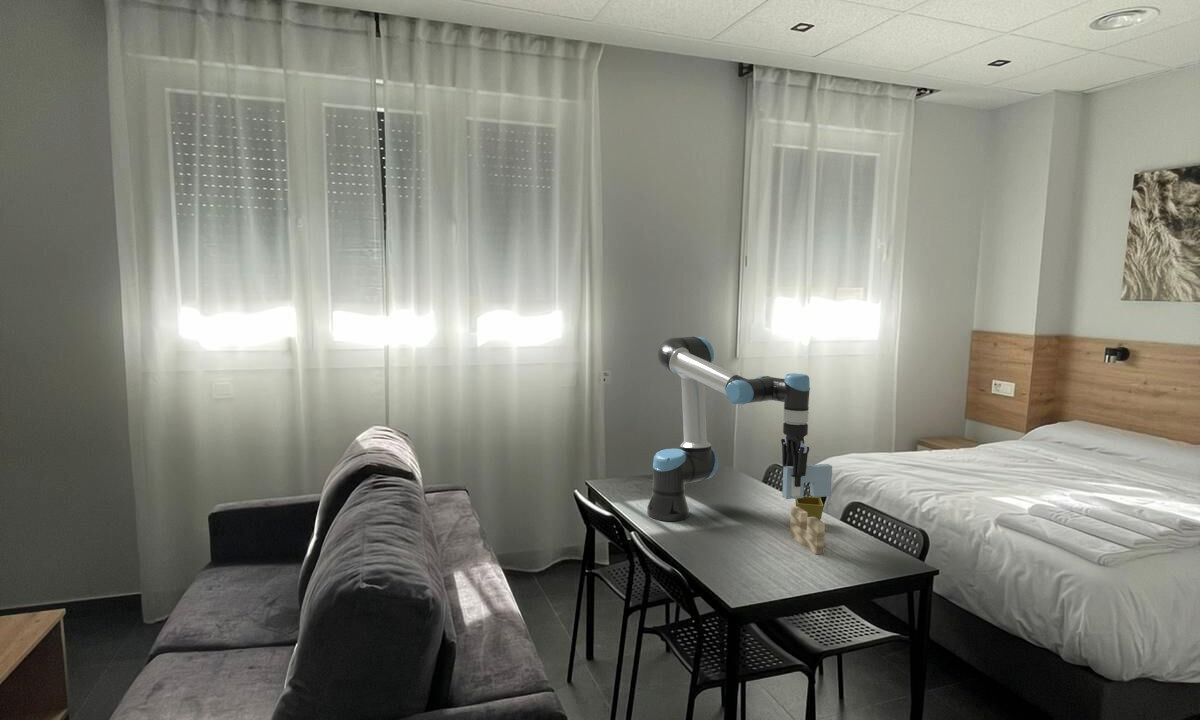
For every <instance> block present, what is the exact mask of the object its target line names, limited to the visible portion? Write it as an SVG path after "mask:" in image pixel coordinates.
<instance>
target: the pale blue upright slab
mask: <svg viewBox="0 0 1200 720" xmlns="http://www.w3.org/2000/svg"><path fill="white" fill-rule="evenodd" d="M782 469H783V471H782V493H781V494H782V495H781V496H782V498H783V499H785V500H792V499H796V498H803V496H804V490H805V488H804V487H805V484H808V483H810V487H809V495H810V497H818V498H821V497H823V498H824V497H825V498H826V497H831V496H832V483H833V482H832V480H833V479H832V477H833V465H831V464H828V463H823V464H822V463H821V464H820V463H819V464H807V466H806V475H805V476H802V477H801V486H800V496H794V497H792V496H791V486H792V476H791V475H794V473H793V466H783V465H782Z"/></svg>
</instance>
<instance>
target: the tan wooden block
mask: <svg viewBox="0 0 1200 720" xmlns="http://www.w3.org/2000/svg"><path fill="white" fill-rule="evenodd" d="M789 525H790V526H789V537H790V538H792V539H793V540H795V541H796V542H798V543H799V544H801V545H802V546H803V547H804V548H807V550H809V551H810V552H812V553H814V554H815V555H824V548H825V545H824V544H825V531H826V522H824V521H822V519H821V520H819V519H817V518H816V517H808V513H807V512H806V511H804V510H803V509H801V508H799V507H796V506H791V507H790V524H789Z"/></svg>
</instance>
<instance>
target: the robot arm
mask: <svg viewBox="0 0 1200 720" xmlns="http://www.w3.org/2000/svg"><path fill="white" fill-rule="evenodd" d="M714 352H715V351H714V349H713V346H712V345H711V342H710V341H708V339H706V338H705V337H703V336H702V337H701V336H685V337H683V336H681V337H670V338H667V339H665V340H664V341H663V342H661V344H660V345H659V347H658V351H657V359H658V362H659V363H660V365H661V366H662V367H663V368H664V369H666V370H667V371H670V372H671V373H674V374H677V375H678V376H679V377H680V378H681V379H680V380H681V382H680V383H681V384H680V385H681V402H682V403H681V405H682V406H681V407H682V422H683V423H682V424H683V425H682V427H683V441H682V443H681V444H680V445H679V448H665V449H661V450H659V451H657V452H656V453H655V454H654V455H653V463H652V493H651V496H650V498H649V501H648V505H647V511H646V513H647V515H648V517H650V518H651V519H654V520H659V521H662V522H663V521H664V522H677V521H679V522H680V521H683V520H686V519H687V518H689V516H690V515H689V513H690V510H689V509H690V508H689V506H688V505H689V504H688V503H687V498H686V495H685V490H686V488H685V487H686V486H685V485H687V484H690V483H695V482H699V481H701V482H703V481H705V480H707V479H711V478H712V477H714V475H716V473H717V471H718V468H719V458H718V457H719V456H718V455H717V454H716V451H715V450H714V449H713V448H712V444H711V443H710V442H709V441H708V435H707V433H708V432H707V414H706V413H707V412H706V411H707V410H706V409H707V408H706V387H705V386H707V387H709V388H711V389H713V390H715V391H717V392H719V393H721V394H723V395H725V396H726V398H727V400H728V401H729V402H730V403H731V404H735V405H746V404H752V403H760V402H769V401H776V402H780V403H783V421H784V422H783V424H782V433H783V434H784V435H785V438H781V439H780V442H781V452H782V458H781V459H782V467H783V466H793V473H794V475H791V476H792V486H791V496H792V497H794V496H800V486H801V477H802V476H805V475H806V466H807V465H808V457H809V456H808V455H809V452H810V446H806V445H805V437H806V436H808V434H809V433H808V432H809V431H808V430H809V424H808V422H809V407H810V406H809V401H810V390H811V386H810V376H809V375H808V374H805V373H796V372H795V373H794V372H793V373H786V374H785V375H784V377H785V378H779V377H773V376H769V375H764V376H763V375H760V376H756V378H749V379H748V378H745V377H743V376H741V375H739V374H736V373H734V372H732V371H730V370H728V369H725V368H723V367H721V366H719V365H717V364H715V363H713V361H714V357H715V355H714V354H715V353H714Z"/></svg>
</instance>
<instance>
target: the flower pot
mask: <svg viewBox="0 0 1200 720" xmlns="http://www.w3.org/2000/svg"><path fill="white" fill-rule="evenodd" d="M795 507H799V508H801V509H803V510H804V511H806V512H807V513H808V517H816V518H817V519H819V520H821V521H822V515H823V510H824V503H823V501H822V498H821V497H813V496H806V495H805V496H804V495H803V498H796V499H795Z"/></svg>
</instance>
